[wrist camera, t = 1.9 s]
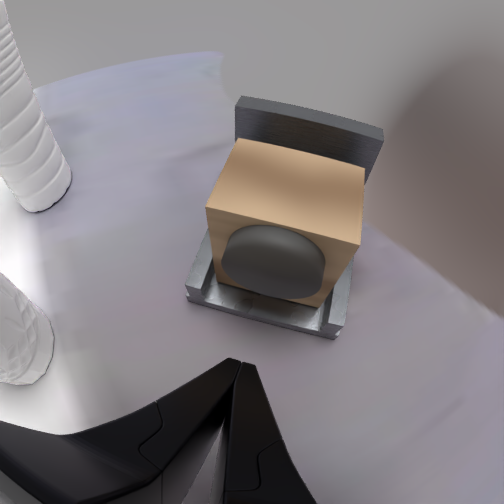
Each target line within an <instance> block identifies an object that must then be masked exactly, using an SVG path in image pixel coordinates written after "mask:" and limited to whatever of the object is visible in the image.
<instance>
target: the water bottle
mask: <svg viewBox="0 0 504 504" xmlns="http://www.w3.org/2000/svg"><path fill="white" fill-rule="evenodd" d="M0 176H1V177H2V178H3V179H4V181H5V183H6V185H7V186H8V188H9V189H10V190H11V191H12V192H13V194H14V196H15V197H16V199H17V200H18V201H19V203H20V204H21V205H22V207H23V208H24V209H26V210H27V211H29V212H37V211H43V210H45V209H47V208H49V207H51V206H52V205H53V203H54V202H57V201H58V200H59V199H60V198H61V197H62V196H63V195H64V194H65V192H66V188H68V187H69V185H70V182H71V170H70V167H69V166H68V164H67V162H66V160H65V158H64V156H63V155H62V153H61V150H60V148H59V146H58V144H57V142H56V140H55V139H54V136H53V133H52V131H51V129H50V127H49V125H48V124H46V118H45V116H44V114H43V112H42V110H40V105H39V102H38V100H37V97H36V95H35V94H34V93H33V88H32V85H31V82H30V80H29V78H28V75H27V73H26V71H25V70H24V65H23V63H22V62H21V57H20V55H19V51H18V48H17V47H16V42H15V40H14V39H13V33H12V31H11V26H10V24H9V23H8V15H7V10H6V6H5V3H4V0H0Z"/></svg>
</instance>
